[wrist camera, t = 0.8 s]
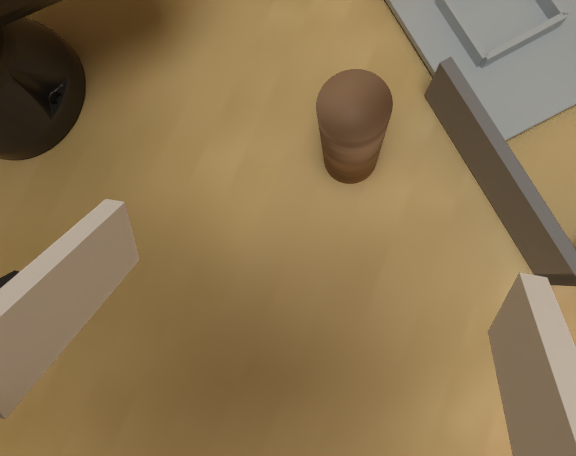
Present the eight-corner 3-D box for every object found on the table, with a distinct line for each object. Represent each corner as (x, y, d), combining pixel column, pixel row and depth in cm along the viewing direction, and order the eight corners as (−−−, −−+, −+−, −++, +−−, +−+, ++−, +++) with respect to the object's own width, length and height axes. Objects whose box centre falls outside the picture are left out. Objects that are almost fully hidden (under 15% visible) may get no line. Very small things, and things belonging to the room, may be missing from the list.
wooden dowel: (315, 148, 38) (303, 92, 26) (360, 124, 38) (369, 56, 26) (339, 192, 37) (338, 154, 26) (386, 168, 37) (406, 118, 25)
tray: (365, -12, 39) (368, -44, 35) (521, -100, 38) (542, -143, 34) (471, 158, 36) (487, 144, 32) (646, 68, 35) (685, 41, 31)
